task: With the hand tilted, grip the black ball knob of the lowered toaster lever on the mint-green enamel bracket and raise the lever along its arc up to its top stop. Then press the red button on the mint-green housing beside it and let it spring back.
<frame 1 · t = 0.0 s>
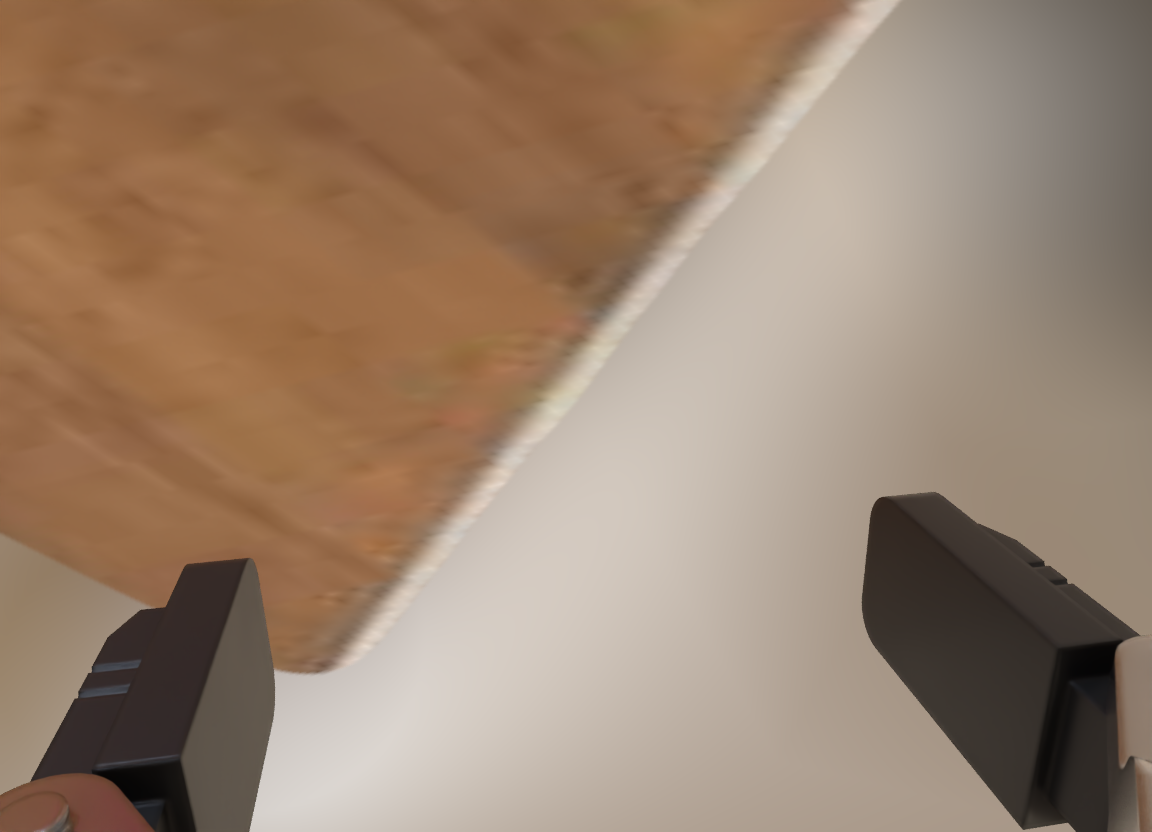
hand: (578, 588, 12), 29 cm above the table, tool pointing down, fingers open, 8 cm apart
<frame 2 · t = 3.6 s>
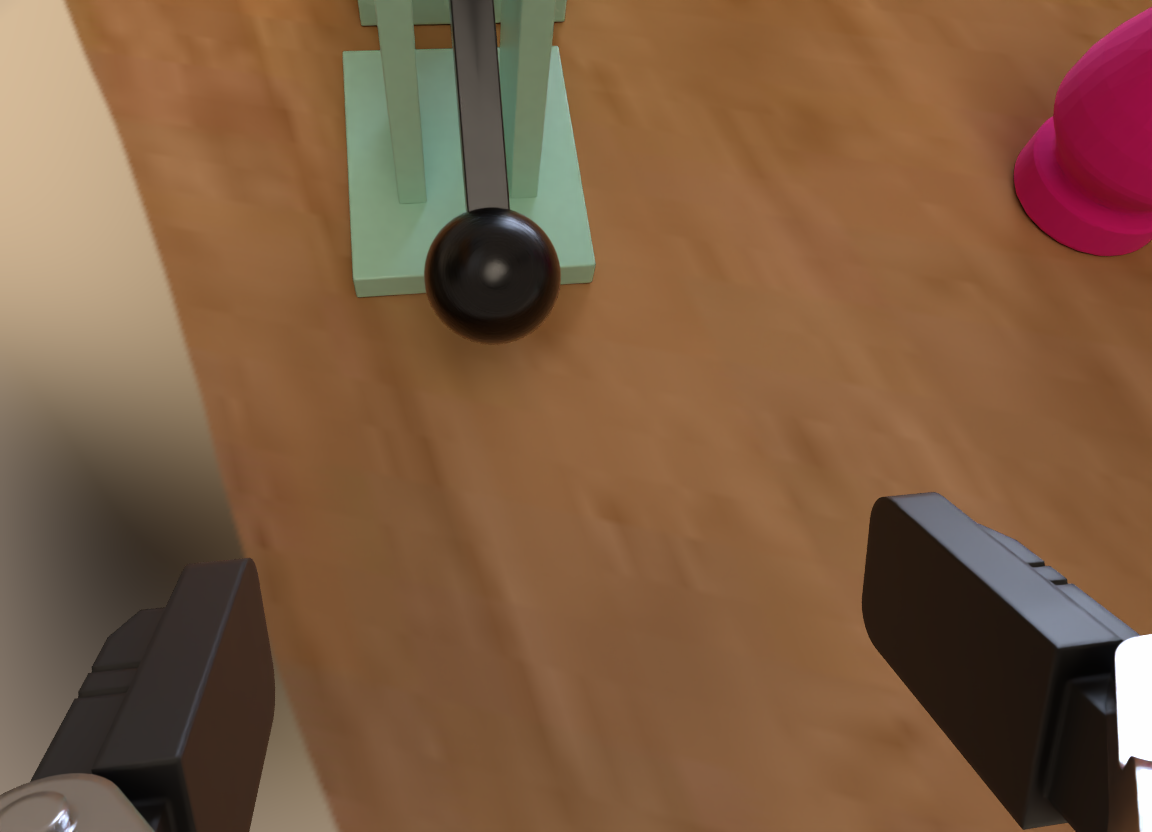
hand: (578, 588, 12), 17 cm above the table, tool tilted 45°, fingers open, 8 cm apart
lever bracket: (464, 173, 35), on the table
toaster lever: (476, 71, 24), point 10 cm above the table, hinge at -28.0°
pepper mill: (1081, 197, 38), on the table
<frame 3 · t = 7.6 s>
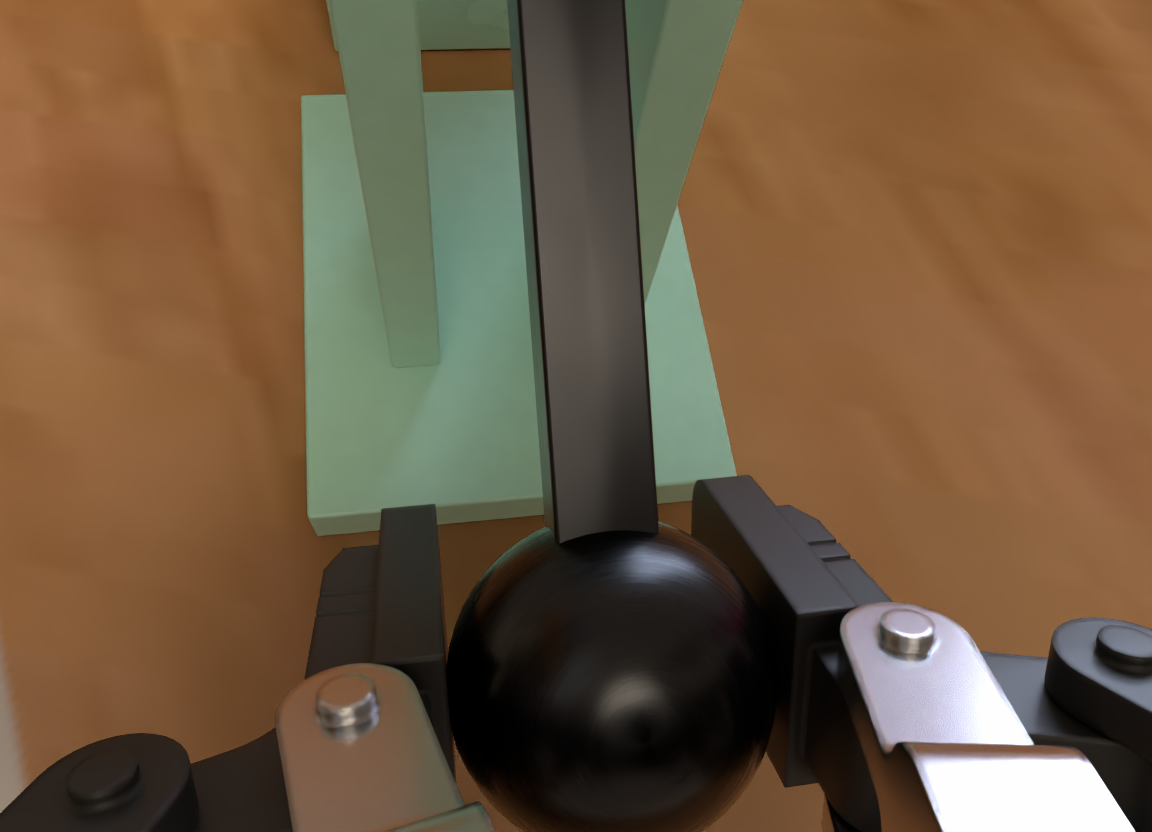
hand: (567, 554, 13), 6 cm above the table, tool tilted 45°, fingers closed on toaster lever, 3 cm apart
lever bracket: (501, 301, 21), on the table
toaster lever: (576, 190, 10), point 10 cm above the table, hinge at -28.0°, touching gripper
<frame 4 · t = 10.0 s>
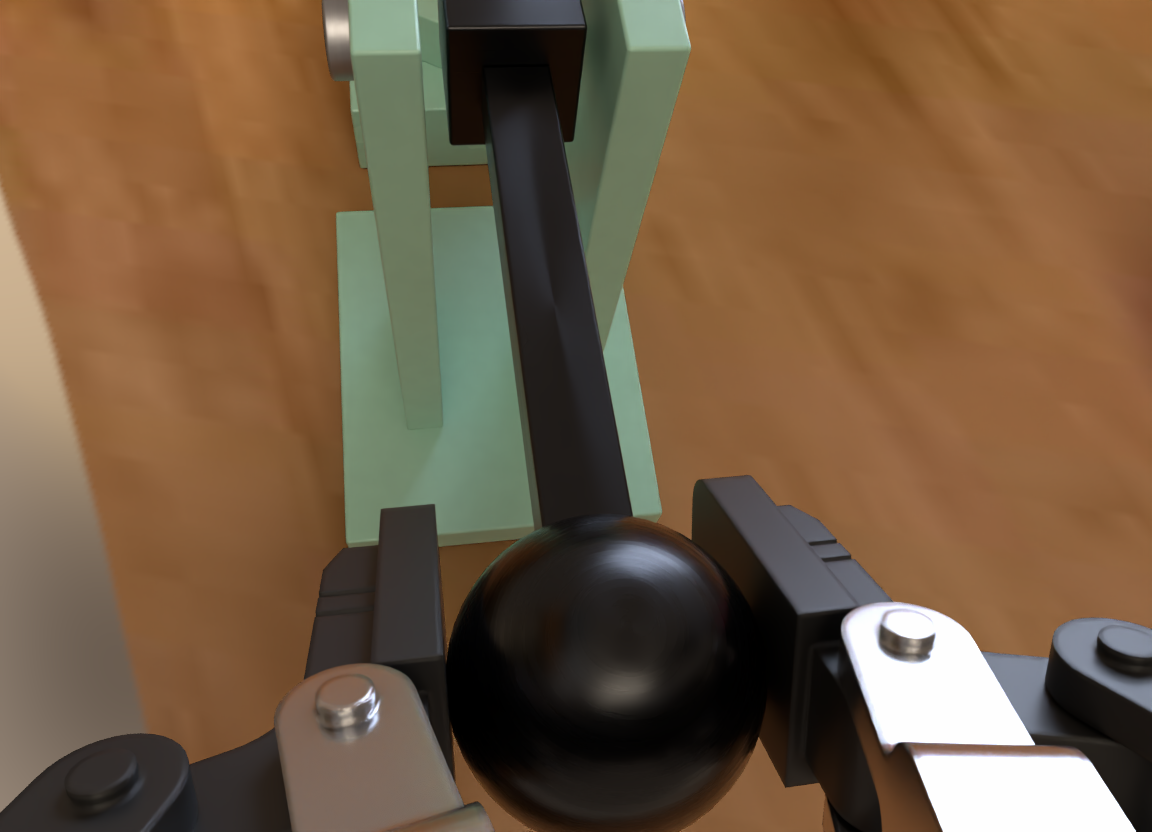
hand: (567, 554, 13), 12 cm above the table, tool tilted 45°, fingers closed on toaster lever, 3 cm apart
lever bracket: (489, 372, 28), on the table
button housing: (476, 52, 33), on the table
toaster lever: (547, 299, 13), point 14 cm above the table, hinge at 6.3°, touching gripper
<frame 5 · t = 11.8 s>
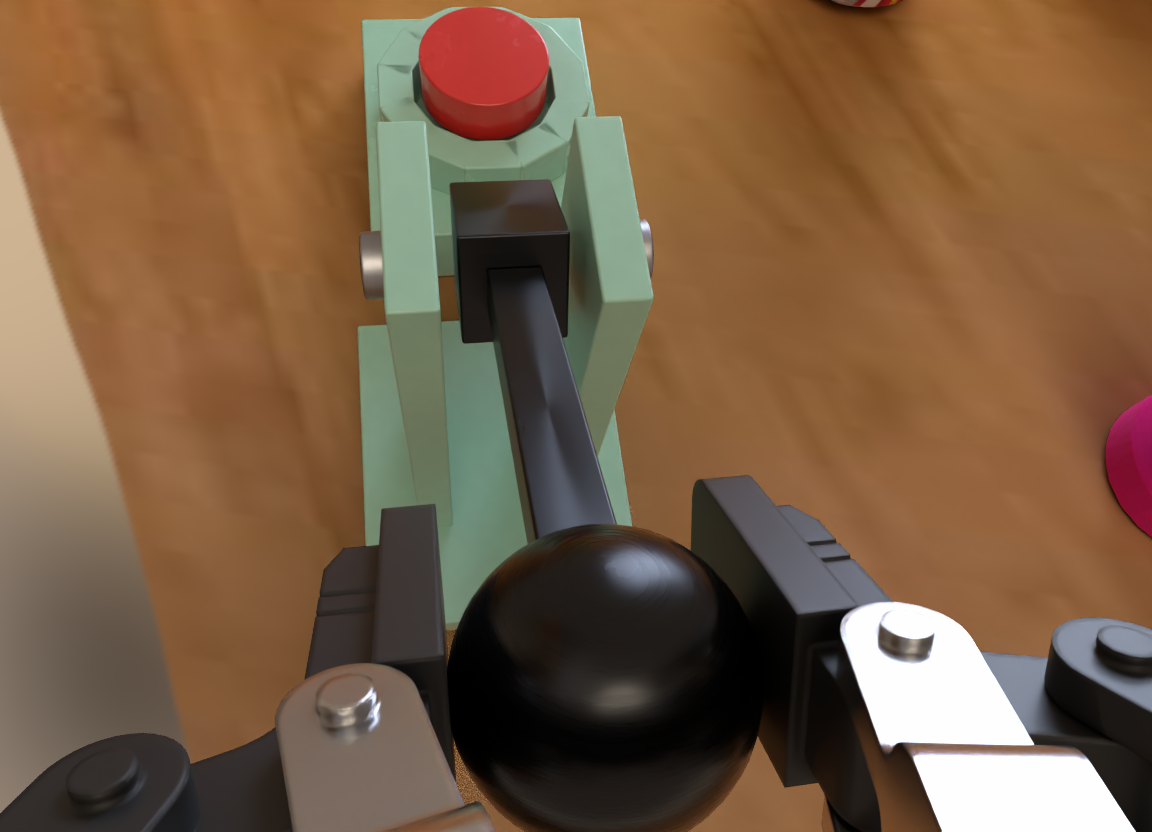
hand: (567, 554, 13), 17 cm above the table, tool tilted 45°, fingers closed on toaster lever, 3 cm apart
lever bracket: (493, 470, 31), on the table
cancel button: (484, 73, 32), point 5 cm above the table, slide at 0.1 cm
button housing: (482, 166, 36), on the table
toaster lever: (543, 414, 15), point 16 cm above the table, hinge at 31.1°, touching gripper
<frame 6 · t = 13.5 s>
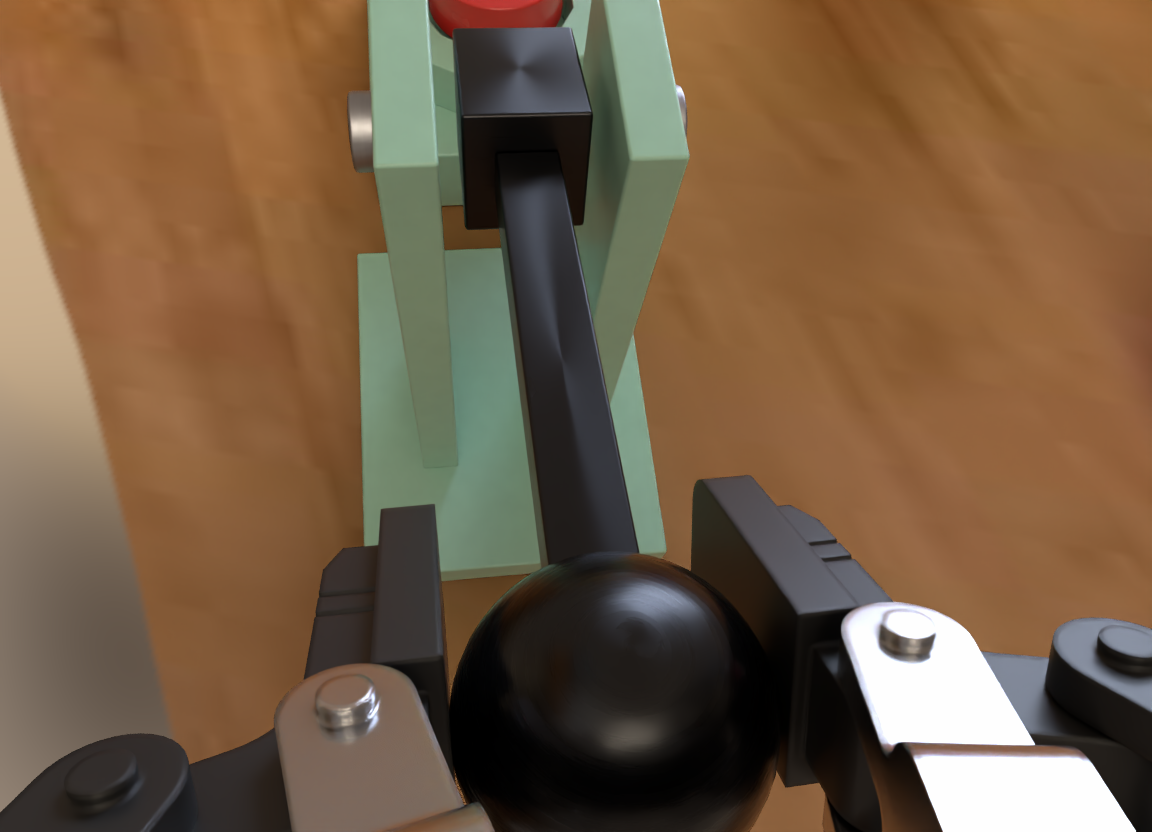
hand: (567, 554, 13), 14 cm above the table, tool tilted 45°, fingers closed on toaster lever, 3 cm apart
lever bracket: (503, 410, 29), on the table
button housing: (493, 92, 34), on the table
toaster lever: (556, 358, 13), point 15 cm above the table, hinge at 15.3°, touching gripper
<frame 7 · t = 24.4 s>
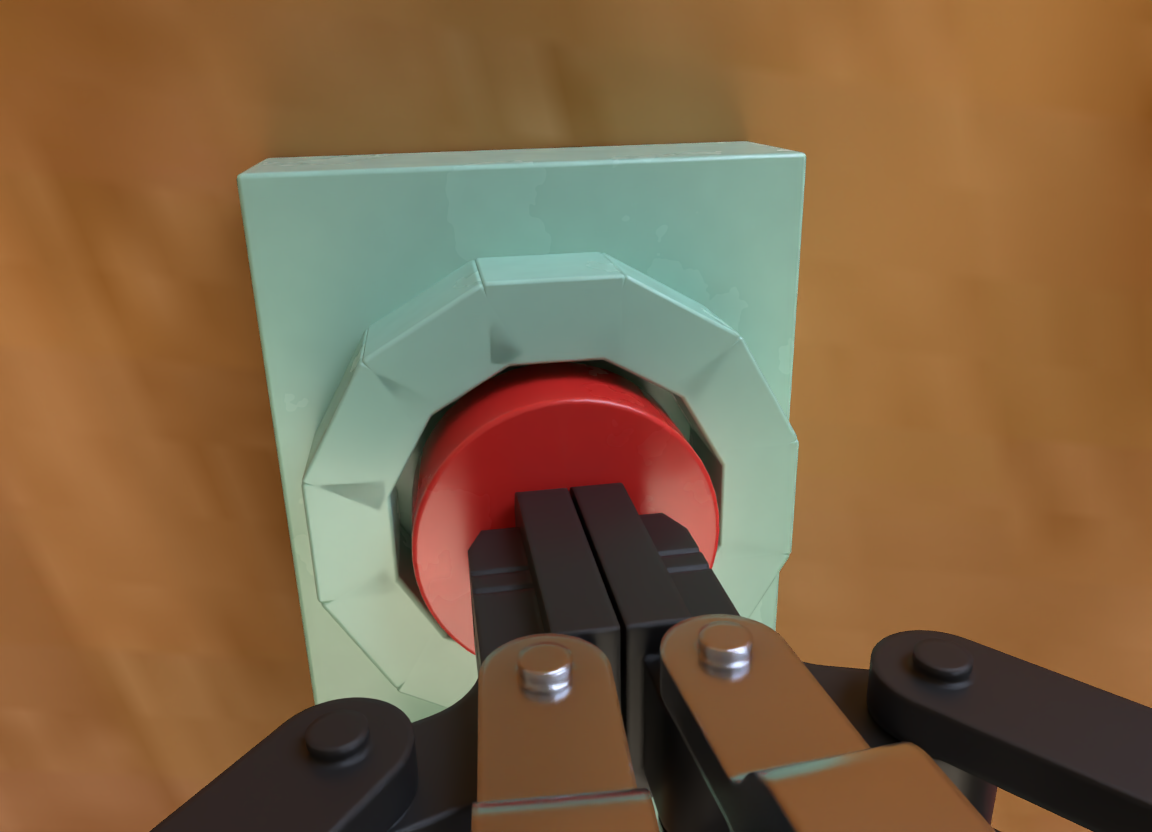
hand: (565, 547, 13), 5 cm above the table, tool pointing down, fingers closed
cancel button: (561, 518, 14), point 4 cm above the table, slide at -0.5 cm, touching gripper
button housing: (527, 416, 18), on the table
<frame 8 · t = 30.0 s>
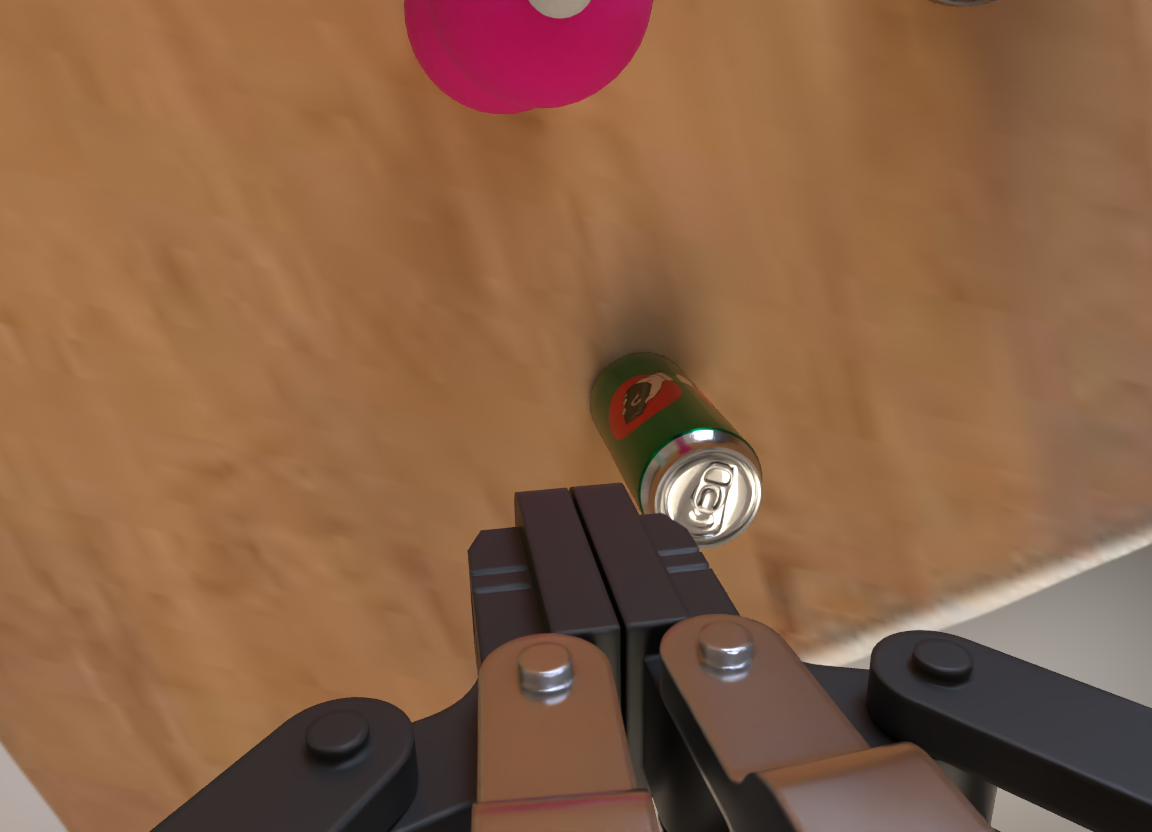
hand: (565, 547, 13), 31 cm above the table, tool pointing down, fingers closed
soda can: (636, 395, 46), on the table
pepper mill: (491, 20, 39), on the table
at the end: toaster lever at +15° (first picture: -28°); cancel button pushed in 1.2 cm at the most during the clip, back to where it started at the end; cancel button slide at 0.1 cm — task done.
